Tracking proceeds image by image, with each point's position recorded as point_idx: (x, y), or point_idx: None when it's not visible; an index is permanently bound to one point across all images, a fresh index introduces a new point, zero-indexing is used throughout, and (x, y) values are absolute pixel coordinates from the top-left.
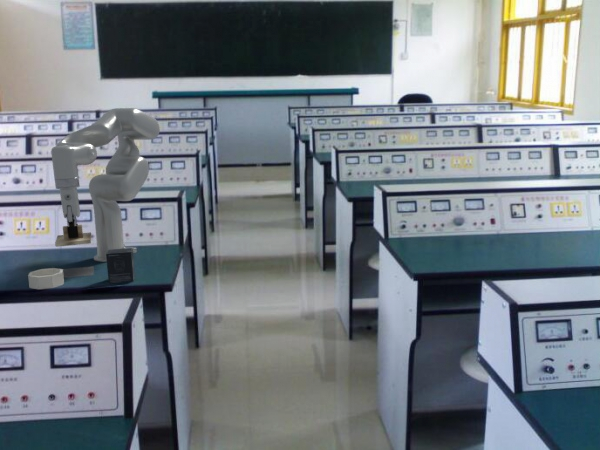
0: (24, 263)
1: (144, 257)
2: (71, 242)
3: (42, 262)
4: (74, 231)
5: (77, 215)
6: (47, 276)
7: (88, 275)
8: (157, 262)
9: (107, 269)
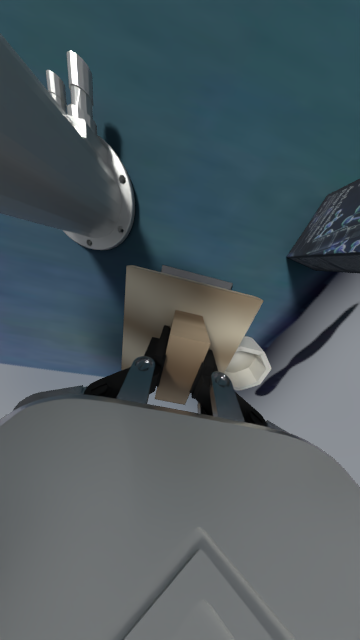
0: (79, 355)
1: (109, 67)
2: (232, 354)
3: (80, 334)
4: (214, 361)
5: (350, 480)
6: (267, 372)
7: None
8: (205, 25)
9: (352, 272)
